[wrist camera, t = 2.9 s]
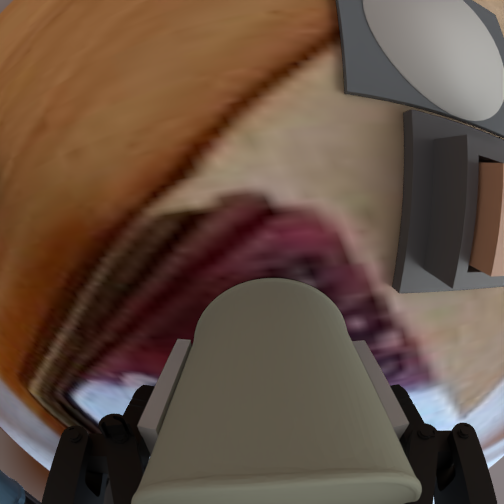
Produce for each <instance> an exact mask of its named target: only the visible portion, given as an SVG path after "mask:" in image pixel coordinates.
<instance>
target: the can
mask: <svg viewBox="0 0 504 504" xmlns="http://www.w3.org/2000/svg"><path fill="white" fill-rule="evenodd" d="M421 492H422V487H421V483H420V481H419V480H418V479H417V478H416V476H415V474H414V472H413V470H412V468H411V466H410V464H409V461H408V459H407V457H406V455H405V453H404V451H403V448H402V446H401V444H400V442H399V440H398V437H397V435H396V433H395V431H394V429H393V426H392V424H391V422H390V420H389V418H388V416H387V413H386V411H385V409H384V407H383V405H382V403H381V401H380V399H379V397H378V395H377V392H376V390H375V388H374V386H373V384H372V382H371V380H370V378H369V376H368V374H367V372H366V369H365V367H364V365H363V363H362V361H361V359H360V357H359V355H358V353H357V351H356V349H355V347H354V345H353V343H352V341H351V339H350V337H349V335H348V332H347V328H346V324H345V321H344V319H343V316H342V314H341V313H340V311H339V309H338V308H337V306H336V305H335V304H334V303H333V302H332V301H331V300H330V299H329V298H328V297H327V296H326V295H325V294H324V293H322V292H320V291H319V290H317V289H316V288H314V287H312V286H310V285H307V284H305V283H302V282H299V281H295V280H290V279H284V278H263V279H256V280H251V281H247V282H244V283H241V284H239V285H236V286H234V287H232V288H230V289H228V290H227V291H225V292H223V293H222V294H220V295H219V296H218V297H217V298H215V299H214V300H213V301H212V302H211V303H210V304H209V305H208V306H207V308H206V309H205V310H204V312H203V313H202V315H201V317H200V319H199V321H198V323H197V326H196V330H195V335H194V342H193V345H192V348H191V350H190V353H189V356H188V358H187V361H186V364H185V366H184V369H183V372H182V375H181V377H180V380H179V383H178V385H177V388H176V390H175V393H174V396H173V398H172V401H171V403H170V406H169V409H168V411H167V414H166V417H165V419H164V422H163V425H162V427H161V430H160V433H159V435H158V438H157V441H156V443H155V446H154V449H153V452H152V454H151V457H150V459H149V462H148V464H147V467H146V469H145V472H144V475H143V477H142V480H141V482H140V485H139V487H138V489H137V491H136V493H135V494H134V495H133V497H132V501H131V504H404V503H408V502H415V501H417V500H418V499H419V498H420V495H421Z"/></svg>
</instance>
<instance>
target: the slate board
mask: <svg viewBox="0 0 504 504" xmlns="http://www.w3.org/2000/svg"><path fill="white" fill-rule="evenodd" d="M336 6H337V13H338V21H339V29H340V38H341V48H342V60H343V73H344V91H345V94H350V95H356V96H362V97H368V98H374V99H379V100H384V101H389V102H394V103H398V104H403V105H407V106H411V107H415V108H419V109H423V110H426V111H430V112H434V113H437V114H440V115H444V116H447V117H450V118H453V119H456V120H459V121H462V122H465V123H468V124H470V125H473V126H476V127H478V128H481V129H484V130H486V131H489V132H491V133H493V134H496V135H498V136H500V137H503V138H504V38H503V34H502V32H501V29H500V26H499V23H498V20H497V18H496V15H495V14H493V13H492V12H490V11H488V10H487V9H485V8H484V7H482V6H481V5H479V4H477V3H476V2H474V1H472V0H336Z"/></svg>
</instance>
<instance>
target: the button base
mask: <svg viewBox="0 0 504 504" xmlns="http://www.w3.org/2000/svg"><path fill="white" fill-rule="evenodd" d="M403 118H404V187H403V204H402V217H401V227H400V237H399V245H398V253H397V260H396V267H395V273H394V279H393V285H392V287H393V288H394V289H395V290H396V291H397V292H398V293H420V292H438V291H454V290H468V289H480V288H492V287H503V286H504V276H493V277H491V276H489V275H487V274H485V273H483V272H482V271H480V270H478V269H476V268H474V267H472V266H470V265H469V261H470V255H471V249H472V243H473V236H474V229H475V220H476V210H477V197H478V175H479V162H485V163H504V140H502V139H500V138H497V137H495V136H492V135H490V134H487V133H485V132H482V131H480V130H477V129H474V128H472V127H469V126H466V125H463V124H460V123H457V122H454V121H451V120H448V119H445V118H441V117H438V116H435V115H431V114H427V113H424V112H420V111H416V110H412V109H411V110H409V111H406V112H404V113H403Z"/></svg>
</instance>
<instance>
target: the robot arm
mask: <svg viewBox="0 0 504 504" xmlns="http://www.w3.org/2000/svg"><path fill="white" fill-rule="evenodd" d="M352 343H353V345H354V347H355V349H356V351H357V353H358V355H359V357H360V359H361V361H362V363H363V365H364V367H365V369H366V372H367V374H368V376H369V378H370V380H371V382H372V384H373V386H374V388H375V390H376V392H377V395H378V397H379V399H380V401H381V403H382V405H383V407H384V409H385V411H386V413H387V416H388V418H389V420H390V422H391V424H392V426H393V429H394V431H395V433H396V435H397V437H398V440H399V442H400V444H401V446H402V448H403V451H404V453H405V455H406V457H407V459H408V461H409V464H410V466H411V468H412V470H413V472H414V474H415V476H416V478H417V479H418V480H419V481H420V483H421V487H422V492H421V495H420V498H419V499H418V500H417V501H415V502H408V503H404V504H433V497H434V501H435V504H497V500H496V496H495V492H494V488H493V484H492V481H491V477H490V473H489V470H488V467H487V464H486V460H485V457H484V454H483V451H482V448H481V445H480V443H479V440H478V437H477V434H476V432H475V430H474V428H473V427H472V426H471V425H470V424H467V423H459V424H457V425H455V426H454V428H453V429H452V431H437V430H436V429H435V427H433V426H432V425H429V424H425V423H424V422H423V420H422V418H421V416H420V414H419V413H418V411H417V409H416V407H415V406H414V404H413V402H412V400H411V399H410V397H409V395H408V393H407V392H406V390H405V389H404V388H402V387H401V386H400V385H392V386H390V385H389V384H388V382H387V380H386V378H385V376H384V374H383V372H382V371H381V369H380V367H379V365H378V363H377V362H376V360H375V358H374V356H373V355H372V353H371V351H370V349H369V347H368V346H367V344H366V342H365V340H364V341H352ZM191 348H192V347H191V340H184V339H177V341H176V343H175V345H174V347H173V349H172V352H171V354H170V356H169V358H168V360H167V362H166V364H165V366H164V368H163V371H162V373H161V375H160V377H159V379H158V381H157V383H156V386H155V387H154V386H148V385H142V386H141V387H140V388H139V389H137V390H136V392H135V393H134V395H133V397H132V399H131V401H130V403H129V405H128V407H127V409H126V411H125V413H124V414H123V415H120V414H109V415H106V416H105V417H103V418H102V419H101V420H100V422H99V426H98V427H99V429H100V430H101V432H102V434H88V433H87V431H86V430H85V429H84V428H83V427H80V426H71V427H68V428H67V429H65V430H64V432H63V433H62V435H61V438H60V441H59V444H58V447H57V450H56V453H55V456H54V459H53V463H52V466H51V469H50V473H49V477H48V480H47V483H46V487H45V491H44V495H43V499H42V503H41V502H40V501H38V500H37V499H36V498H34V497H33V496H32V495H30V494H29V493H28V492H27V491H25V490H24V489H23V487H22V486H21V485H20V484H19V483H18V482H17V481H15V480H14V479H12V478H9V477H8V476H7V475H6V474H4V473H3V472H2V471H1V470H0V504H131V501H132V497H133V495H134V494H135V493H136V491H137V489H138V487H139V485H140V482H141V480H142V477H143V475H144V472H145V469H146V467H147V464H148V460H149V457H150V456H151V454H152V452H153V449H154V446H155V443H156V441H157V438H158V435H159V433H160V430H161V427H162V425H163V422H164V419H165V417H166V414H167V411H168V409H169V406H170V403H171V401H172V398H173V396H174V393H175V390H176V388H177V385H178V383H179V380H180V377H181V375H182V372H183V369H184V366H185V364H186V361H187V358H188V356H189V353H190V350H191Z"/></svg>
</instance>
